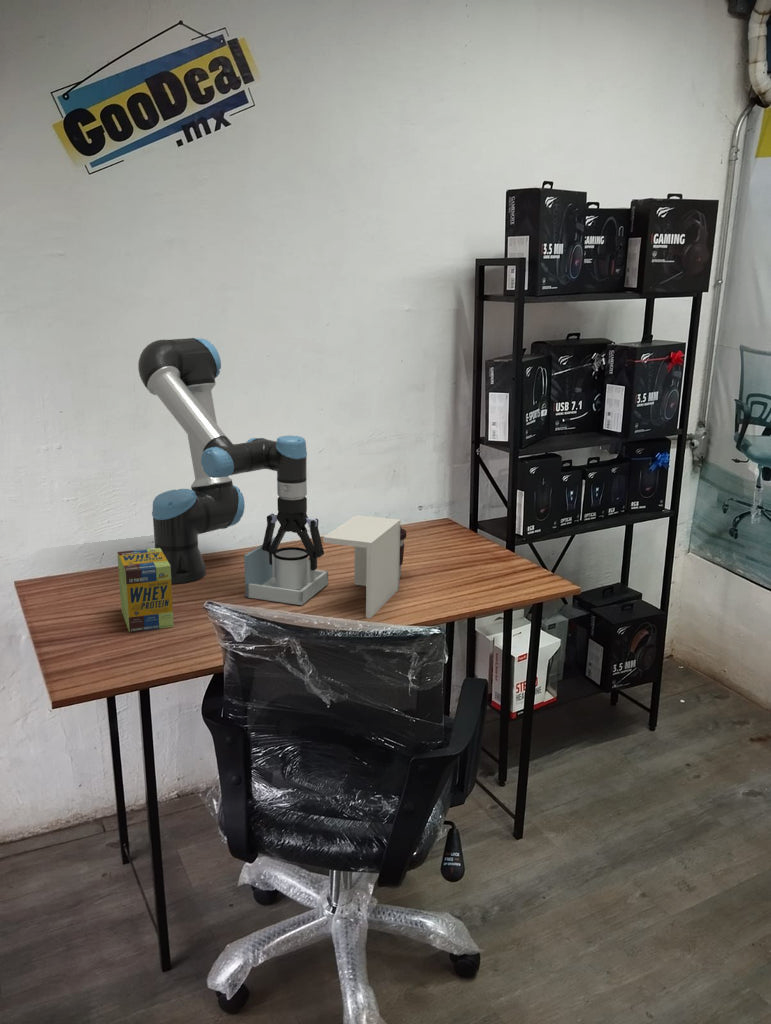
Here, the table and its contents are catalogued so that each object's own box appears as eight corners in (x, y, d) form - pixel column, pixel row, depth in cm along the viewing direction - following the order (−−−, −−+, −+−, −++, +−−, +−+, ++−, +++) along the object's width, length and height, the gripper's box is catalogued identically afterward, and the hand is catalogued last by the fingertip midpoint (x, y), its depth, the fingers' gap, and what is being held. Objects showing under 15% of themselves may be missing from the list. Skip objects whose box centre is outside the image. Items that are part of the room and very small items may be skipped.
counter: (323, 611, 212) (323, 537, 207) (355, 583, 232) (356, 514, 227) (370, 618, 208) (371, 542, 203) (399, 589, 228) (400, 519, 223)
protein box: (129, 633, 197) (124, 570, 193) (120, 610, 210) (116, 551, 206) (174, 627, 201) (171, 565, 197) (163, 604, 214) (160, 546, 210)
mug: (313, 589, 220) (313, 556, 218) (277, 592, 217) (276, 559, 215) (303, 574, 231) (302, 542, 229) (268, 577, 228) (268, 545, 226)
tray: (245, 596, 220) (244, 555, 217) (275, 576, 235) (274, 537, 232) (301, 605, 214) (301, 562, 212) (328, 583, 230) (327, 543, 227)
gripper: (246, 495, 218) (249, 578, 223) (325, 504, 211) (326, 589, 216) (260, 489, 224) (262, 569, 230) (337, 497, 217) (337, 579, 223)
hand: (293, 578), depth 223 cm, fingers closed on mug, 9 cm apart
